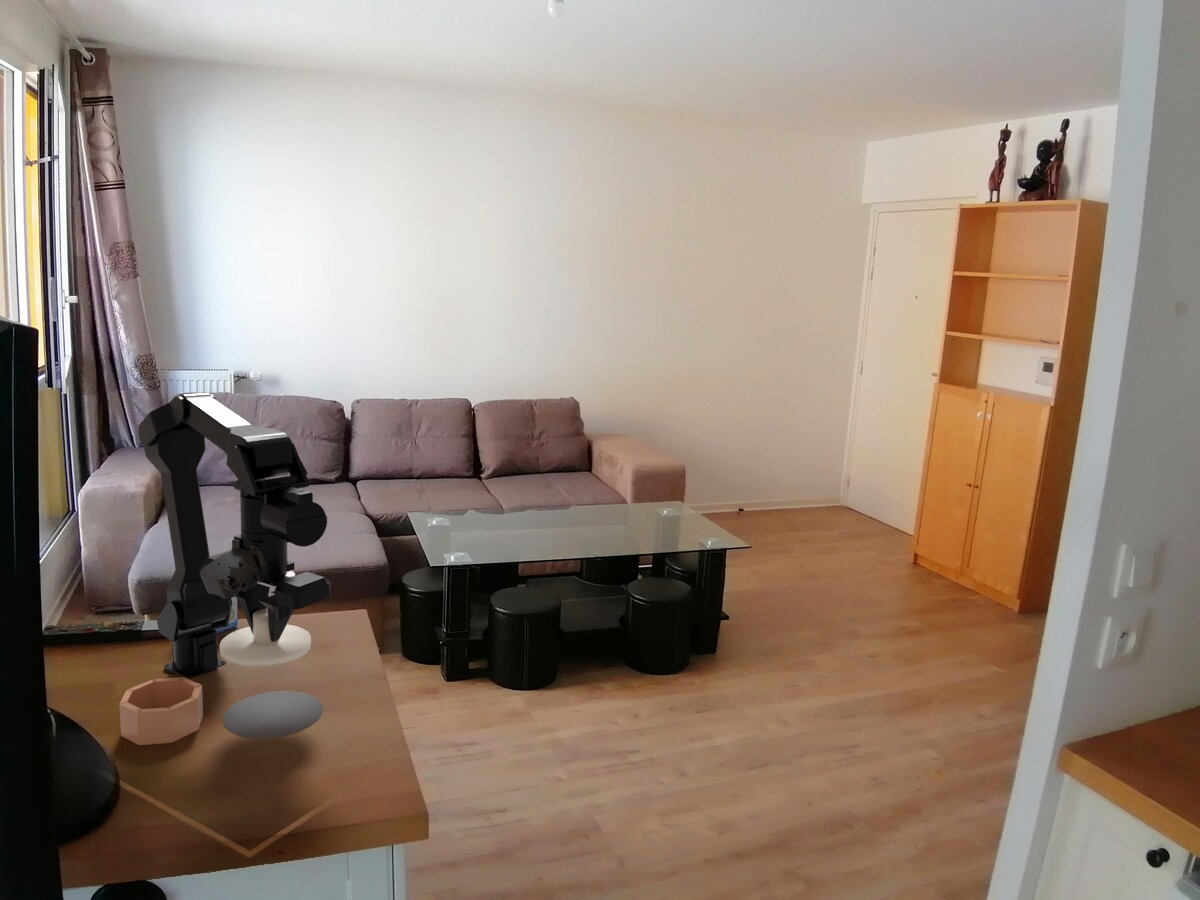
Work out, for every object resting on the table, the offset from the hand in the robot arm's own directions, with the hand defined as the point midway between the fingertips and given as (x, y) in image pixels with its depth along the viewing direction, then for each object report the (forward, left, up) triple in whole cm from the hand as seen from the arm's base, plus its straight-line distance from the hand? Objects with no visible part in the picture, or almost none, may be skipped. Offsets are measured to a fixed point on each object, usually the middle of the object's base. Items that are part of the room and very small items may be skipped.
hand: (265, 637), depth 119 cm
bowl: (-8, -10, -12) cm, 17 cm away
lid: (0, 0, -2) cm, 2 cm away
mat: (+1, +1, -12) cm, 12 cm away
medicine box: (-30, +14, -12) cm, 35 cm away
